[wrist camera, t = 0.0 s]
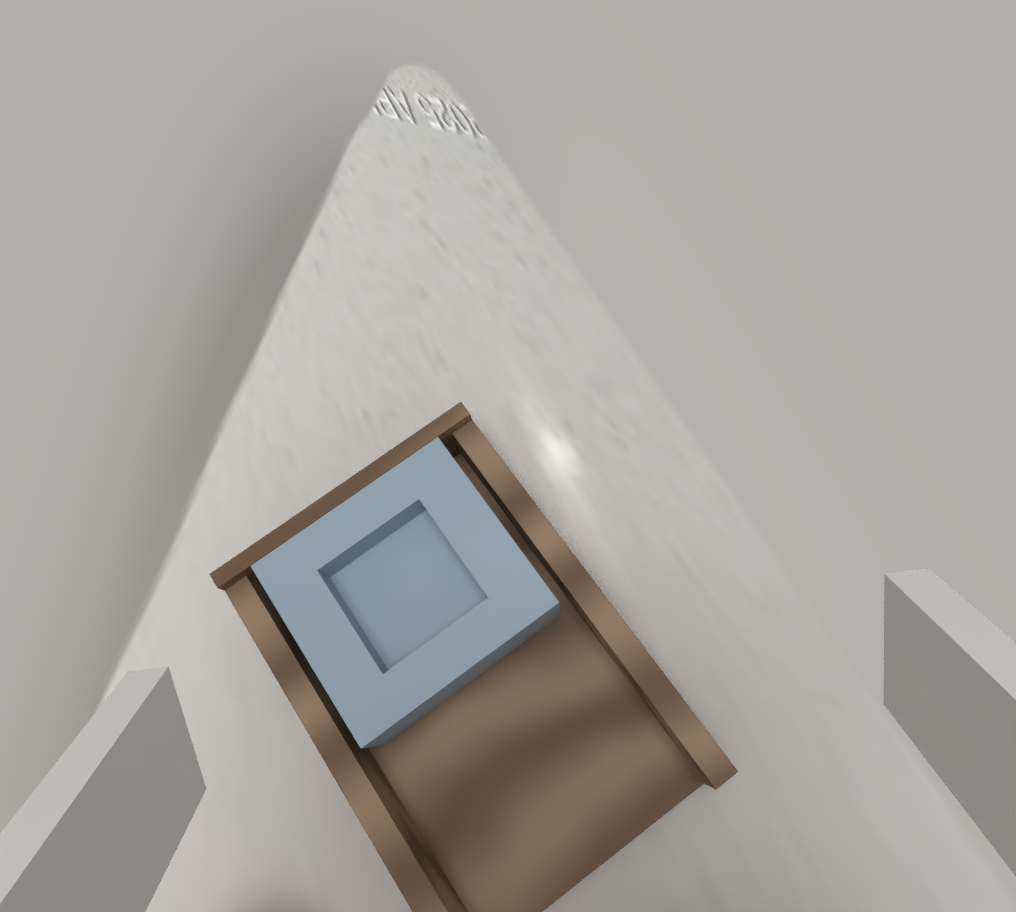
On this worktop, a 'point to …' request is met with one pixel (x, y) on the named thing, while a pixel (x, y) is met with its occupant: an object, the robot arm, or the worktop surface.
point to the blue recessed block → (405, 594)
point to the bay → (501, 724)
